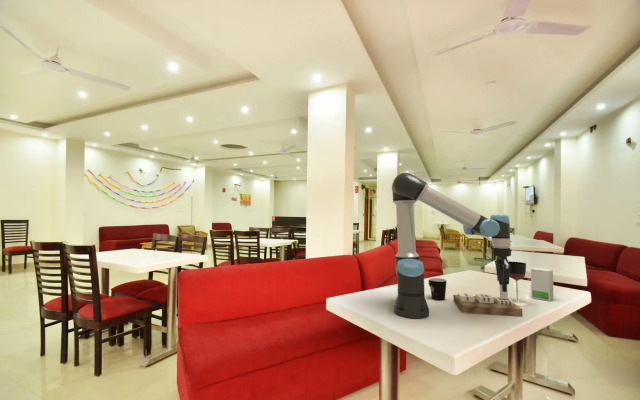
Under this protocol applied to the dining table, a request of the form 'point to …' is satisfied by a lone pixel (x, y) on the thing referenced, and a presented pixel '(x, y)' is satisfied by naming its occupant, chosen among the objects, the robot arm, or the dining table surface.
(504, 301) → the tile three
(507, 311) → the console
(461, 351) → the dining table surface
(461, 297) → the tile one
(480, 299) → the tile two
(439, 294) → the coffee mug
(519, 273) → the wineglass
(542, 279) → the skincare box
